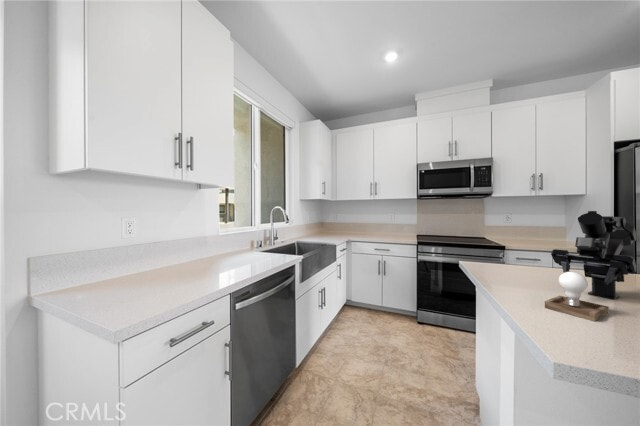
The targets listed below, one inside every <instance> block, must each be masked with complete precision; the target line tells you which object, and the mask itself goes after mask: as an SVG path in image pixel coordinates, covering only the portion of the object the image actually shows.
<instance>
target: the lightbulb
mask: <svg viewBox="0 0 640 426" xmlns="http://www.w3.org/2000/svg"><path fill="white" fill-rule="evenodd" d="M586 278H587V277H585V275H583V274H581V273H579V272H576V271H569V272H565V273H561V274H560V275H559V276H558V284H559V285H560V287H561V288H562V289H563V290H564V292H565V295H566V296H565V297H567V301H568V302H567V304H568V305H570V306H571V307H578V306H579V300H580V299H581V296H582V293H583V292H584V291H585V290H587V289H588V286H589V285H588V281H587V280H588V279H586Z"/></svg>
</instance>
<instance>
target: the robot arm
mask: <svg viewBox="0 0 640 426" xmlns="http://www.w3.org/2000/svg"><path fill="white" fill-rule="evenodd" d="M577 222H578V224H579V226H580V230H581V232H582V234H583V235H584V237H582V236H580V237H579V236H578V237H576V238H575V245H574V247H576V253H577V254H574V253H569V251H568V250H567V249H559V248H555V249H552V250H551V253H550V256H551V257H552V259H553V261H554V263H555V264H557V265H559V266H561V267H562V272H563V273H565V272H570V269H571V263H572V261H575V262H583V272H584V277H585V278H591V290H590V291H588V292H587V294H588V295H592V296H597V297H601V298H606V299H612V300H615V299H617V298H619V297H620V296H621V295H620V294H616V293H617V291H616V290H617V289H616V284H617V283H621V282H622V283H624V282H625V275H627V276H629V274H632V275H633V274H636V273H637V264H636V260H635V258H634V257H633V256H631V255H622V254H620V253H621V252H622V250H623V248H624V247H628V246H629V247H630V246H632V244H634V242H636V240H637V232H636V231H637V230H636V228H635V226H634V225H632V224H630V223H629V222H627V220H626V217H622V216H613V215H612V216H610V215H609V216H607V215H606V216H605V215H603V216H602V215H601V214H600V213H598V211H597V210H588V211H587V212H586V213H583V214H581V215H580V216H579V217H577ZM563 273H562V274H563Z"/></svg>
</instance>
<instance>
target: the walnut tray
mask: <svg viewBox="0 0 640 426" xmlns="http://www.w3.org/2000/svg"><path fill="white" fill-rule="evenodd" d="M567 302H568V301H567V296H564V295H563V296H562V295H557V296H555V297H552V298H550V299H546V300H544V309H546V310H547V309H548V310H551V311H556V312H558V313H561V314H566V315H568V316H572V317H576V318H577V317H578V318H581V319H584V320H588V321H592V322H596V321H598V320H600V319H602V318H604V317H606V316H607V315H609V311H610V310H609V306H608V305H603V304H600V303H599V304H598V303H595V302H590V301H586V300H582V299H581V300H580V299H579V306H578V307H571V306H570V305H568V304H567Z"/></svg>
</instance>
